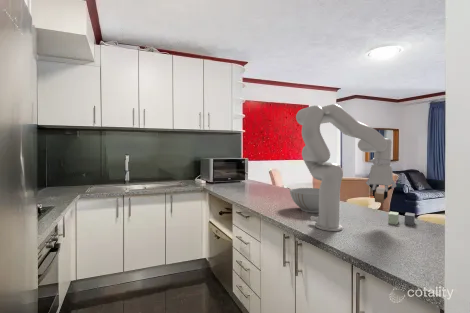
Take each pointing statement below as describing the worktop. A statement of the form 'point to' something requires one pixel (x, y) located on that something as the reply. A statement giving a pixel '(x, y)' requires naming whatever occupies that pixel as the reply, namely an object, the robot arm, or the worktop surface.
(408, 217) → the charcoal brick
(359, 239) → the worktop surface
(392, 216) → the sage brick
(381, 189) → the walnut brick
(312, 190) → the decorative bowl
